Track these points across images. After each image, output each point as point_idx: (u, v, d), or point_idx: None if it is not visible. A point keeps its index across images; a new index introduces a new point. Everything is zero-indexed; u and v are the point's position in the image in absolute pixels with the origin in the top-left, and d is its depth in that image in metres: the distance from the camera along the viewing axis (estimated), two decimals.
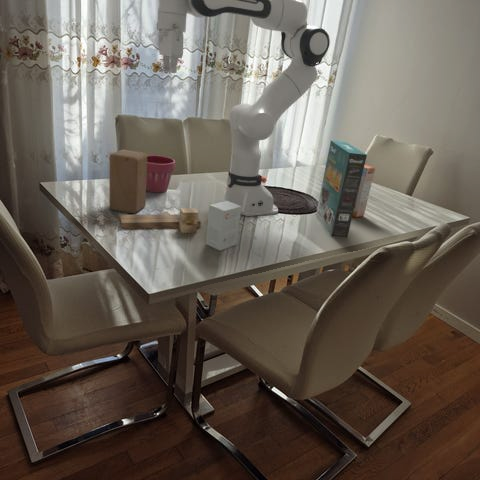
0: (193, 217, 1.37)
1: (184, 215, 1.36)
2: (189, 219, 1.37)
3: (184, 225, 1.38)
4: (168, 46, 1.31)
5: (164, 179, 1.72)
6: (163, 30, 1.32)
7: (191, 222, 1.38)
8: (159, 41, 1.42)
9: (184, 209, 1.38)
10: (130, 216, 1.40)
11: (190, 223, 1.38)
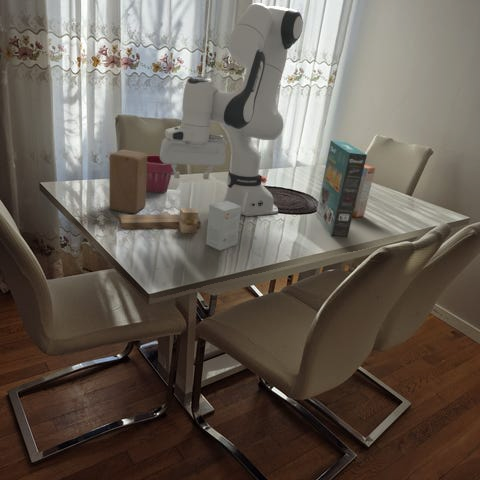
0: (193, 217, 1.38)
1: (184, 215, 1.36)
2: (189, 219, 1.37)
3: (184, 225, 1.38)
4: (211, 156, 1.31)
5: (164, 179, 1.72)
6: (201, 142, 1.27)
7: (191, 222, 1.38)
8: (167, 150, 1.26)
9: (184, 209, 1.38)
10: (130, 216, 1.40)
11: (190, 223, 1.38)
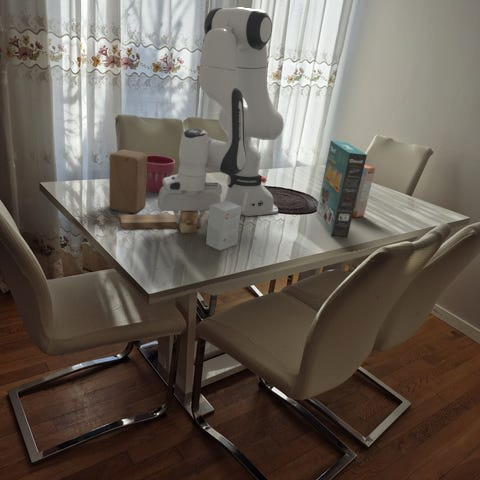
0: (193, 217, 1.37)
1: (184, 215, 1.36)
2: (189, 219, 1.37)
3: (184, 225, 1.38)
4: (206, 203, 1.37)
5: None
6: (197, 191, 1.33)
7: (191, 222, 1.38)
8: (165, 199, 1.32)
9: None
10: (130, 216, 1.40)
11: (190, 223, 1.38)
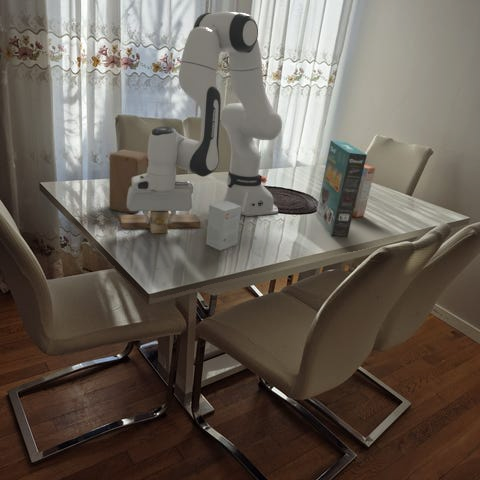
0: (163, 217, 1.34)
1: (154, 215, 1.32)
2: (160, 219, 1.34)
3: (154, 225, 1.34)
4: (177, 202, 1.34)
5: None
6: None
7: (161, 222, 1.34)
8: (133, 199, 1.28)
9: None
10: (130, 216, 1.40)
11: (160, 223, 1.34)
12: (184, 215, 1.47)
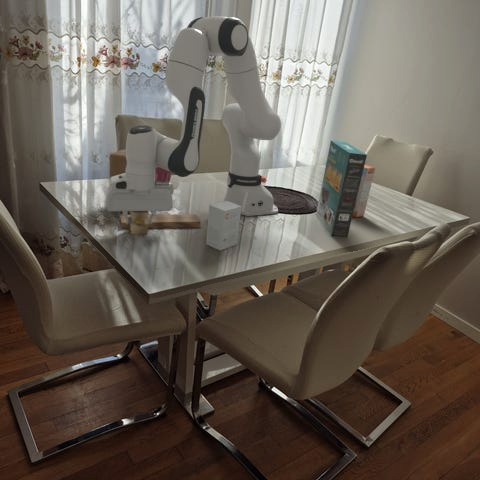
0: (143, 218, 1.32)
1: (133, 215, 1.30)
2: (139, 219, 1.32)
3: (134, 226, 1.32)
4: (157, 203, 1.32)
5: (164, 179, 1.72)
6: None
7: (141, 223, 1.32)
8: (112, 199, 1.26)
9: None
10: None
11: (140, 224, 1.32)
12: (184, 215, 1.47)
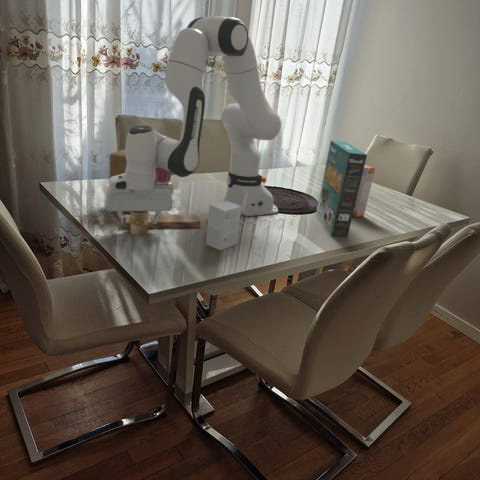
0: (143, 218, 1.32)
1: (133, 216, 1.30)
2: (139, 220, 1.32)
3: (134, 226, 1.32)
4: (157, 203, 1.32)
5: (164, 179, 1.72)
6: None
7: (141, 223, 1.32)
8: (111, 199, 1.26)
9: None
10: None
11: (140, 224, 1.32)
12: (184, 215, 1.47)
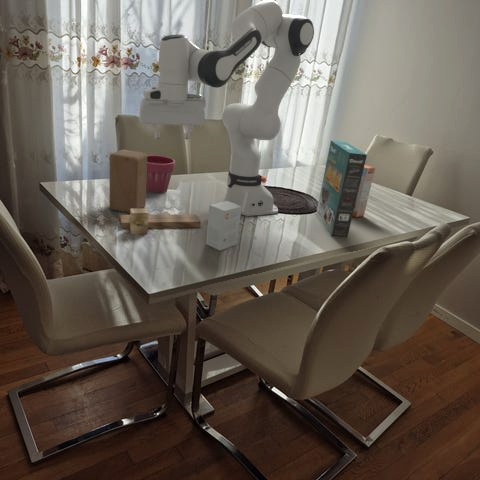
0: (143, 218, 1.32)
1: (133, 216, 1.30)
2: (139, 220, 1.32)
3: (134, 226, 1.32)
4: (190, 116, 1.32)
5: (164, 179, 1.72)
6: (179, 101, 1.28)
7: (141, 223, 1.32)
8: (146, 110, 1.27)
9: (134, 209, 1.33)
10: None
11: (140, 224, 1.32)
12: (184, 215, 1.47)
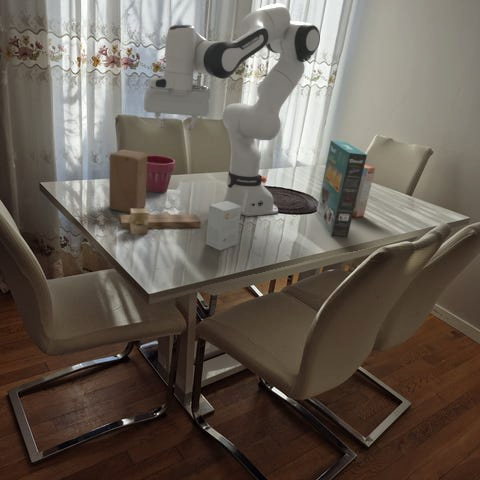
0: (143, 218, 1.32)
1: (133, 216, 1.30)
2: (139, 220, 1.32)
3: (134, 226, 1.32)
4: (194, 106, 1.33)
5: (164, 179, 1.72)
6: (184, 91, 1.29)
7: (141, 223, 1.32)
8: (151, 98, 1.27)
9: (134, 209, 1.33)
10: None
11: (140, 224, 1.32)
12: (184, 215, 1.47)
